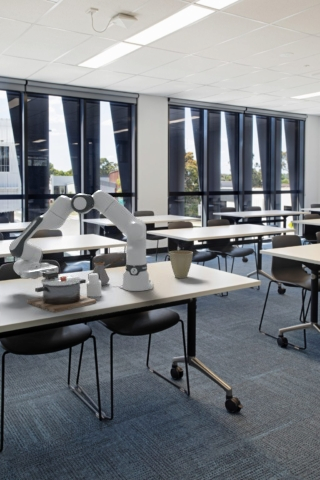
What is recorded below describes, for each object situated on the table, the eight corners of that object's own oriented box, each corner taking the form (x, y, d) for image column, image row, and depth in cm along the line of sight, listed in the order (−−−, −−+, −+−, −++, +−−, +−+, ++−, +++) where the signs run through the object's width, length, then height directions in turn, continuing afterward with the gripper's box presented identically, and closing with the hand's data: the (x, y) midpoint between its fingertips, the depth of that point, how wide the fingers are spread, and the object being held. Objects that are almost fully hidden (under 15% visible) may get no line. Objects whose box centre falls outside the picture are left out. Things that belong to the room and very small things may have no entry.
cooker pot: (27, 302, 224) (26, 284, 223) (74, 292, 244) (73, 275, 243) (47, 309, 212) (46, 290, 211) (95, 297, 232) (95, 280, 231)
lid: (31, 281, 228) (31, 274, 228) (63, 275, 242) (63, 269, 241) (55, 288, 213) (55, 280, 213) (88, 281, 227) (88, 274, 227)
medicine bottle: (88, 293, 247) (87, 271, 246) (101, 293, 248) (101, 271, 246) (87, 296, 240) (86, 274, 238) (100, 296, 241) (100, 274, 239)
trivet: (27, 303, 228) (27, 300, 228) (68, 294, 245) (68, 291, 245) (55, 312, 211) (54, 309, 211) (96, 302, 228) (96, 299, 228)
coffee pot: (94, 287, 261) (93, 261, 259) (86, 283, 271) (86, 258, 269) (127, 283, 272) (127, 258, 270) (119, 279, 282) (119, 255, 280)
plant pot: (193, 279, 281) (193, 254, 279) (169, 279, 282) (169, 254, 280) (192, 274, 296) (192, 250, 294) (169, 274, 296) (169, 250, 294)
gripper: (15, 267, 237) (29, 271, 227) (49, 262, 251) (64, 265, 242) (16, 279, 237) (30, 283, 228) (50, 273, 252) (64, 277, 243)
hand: (47, 274), depth 235 cm, fingers closed
